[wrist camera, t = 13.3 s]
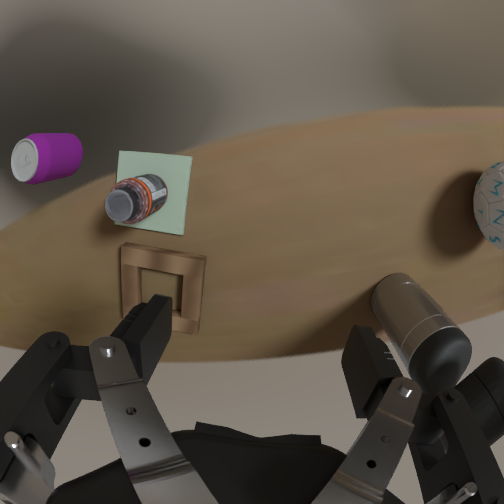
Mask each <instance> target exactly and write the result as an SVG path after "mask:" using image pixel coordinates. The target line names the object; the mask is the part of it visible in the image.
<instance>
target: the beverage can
mask: <svg viewBox="0 0 504 504" xmlns="http://www.w3.org/2000/svg"><path fill="white" fill-rule="evenodd" d="M82 155H83V151H82V145H81V142H80V140H79V139H78V138H77V137H76V136H75V135H73V134H70V133H44V134H43V133H41V134H31V135H30V136H28V137H26V138H24V139H23V140H21V141H19V142H18V143H17V144H16V146H15V148H14V150H13V153H12V157H11V167H12V171H13V174H14V176H15V177H16V179H17V180H19V181H22V182H25V183H28V184H38V183H42V182H46V181H50V180H54V179H59V178H64V177H67V176H70V175H72V174H73V173H74V172H76V171H77V169H78V168H79V166H80V164H81V161H82Z"/></svg>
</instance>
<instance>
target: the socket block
mask: <svg viewBox="0 0 504 504" xmlns="http://www.w3.org/2000/svg"><path fill="white" fill-rule="evenodd" d="M205 265H206V256H202V255H196V254H190V253H185V252H179V251H173V250H167V249H161V248H156V247H150V246H144V245H139V244H133V243H127V242H126V243H124V244H123V245H122V246H121V282H122V304H123V319H124V318H125V316H126V315H128V313H129V311H130V310H131V309H132V308H133V307H134V306H136V305H138V304H140V303H142V293H141V269H142V267H143V268H148V269H153V270H158V271H163V272H169V273H174V274H180V275H184V277H183V292H182V309H181V311H178V310H173V309H172V330H174V331H179V332H184V333H189V334H194V335H197V334H198V331H199V327H200V315H201V304H202V294H203V284H204V274H205Z"/></svg>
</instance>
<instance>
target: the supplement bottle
mask: <svg viewBox="0 0 504 504" xmlns="http://www.w3.org/2000/svg"><path fill="white" fill-rule="evenodd" d="M167 196H168V190H167V186H166V184H165V182H164V181H163V180H162V179H161V178H160V177H159V176H157V175H155V174H144V175H140V176H135V177H131V178H127V179H123V180H121V181H119V182H118V183H116V184H115V185H114V186H113V188H112V189H111V191H110V193H109V194H108V196H107V197H106V200H105V210H106V213H107V215H108V216H109V217H110V218H111V219H112V220H114V221H115V222H121V223H124V224H135V223H138V222H140V221H141V220H143V219H145V218H146V217H148V216H149V215H151V214H153V213H154V212H156V211H158V210H159V209H161V207H163V205H164V204H165V202H166V200H167Z"/></svg>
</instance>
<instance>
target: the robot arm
mask: <svg viewBox="0 0 504 504" xmlns="http://www.w3.org/2000/svg"><path fill="white" fill-rule="evenodd" d="M172 303H173V301H172V297H168V296H164V295H159V294H154V296H153V297H152V298H151V300H150V301H149V302H148V303H143V302H142V303H140V304H138V305H136V306H134V307H133V308H132V309H131V310H130V311H129V313H128V315H126V316H125V318H124V320H122V321H121V323H120V324H119V325H118V326H117V327H116V329H115V330H114V331H113V333H112V334H111V335H110V336H104V337H100V338H97V339H95V340H93V341H92V342H91V344H90V346H78V345H70V340H69V338H68V336H67V335H66V334H64V333H62V332H55V331H53V332H48V333H45V334H43V335H41V336H40V337H39V338H38V339H37V340H36V341H35V342H34V344H33V345H32V346H31V347H30V348H29V349H28V350H27V351H26V352H25V353H24V355H23V356H22V357H21V358H20V359H19V360H18V362H17V363H16V364H15V365H14V366H13V367H12V368H11V370H10V371H9V372H8V373H7V374H6V376H5V377H4V378H3V379H2V380H1V382H0V499H1V500H2V501H3V502H4V503H5V504H405V503H403V502H402V501H401V500H400V499H398V498H397V497H396V496H395V495H394V494H392V493H391V492H390V491H388V490H387V489H386V488H387V486H388V484H389V482H390V480H391V478H392V476H393V474H394V472H395V470H396V468H397V466H398V464H399V461H400V459H401V457H402V455H403V452H404V450H405V448H406V445H407V443H408V444H409V448H410V451H411V455H412V458H413V462H414V465H415V469H416V472H417V476H418V480H419V484H420V488H421V492H422V496H423V500H424V504H504V478H503V475H502V473H501V471H500V468H499V466H498V464H497V461H496V459H495V457H494V455H493V453H492V450H491V448H490V446H491V445H492V444H493V443H494V442H496V441H497V440H498V439H499V438H501V437H502V436H503V435H504V361H503V360H501V359H499V358H496V357H492V358H489V359H487V360H486V361H485V362H483V363H482V364H481V365H480V366H479V367H478V368H477V369H475V370H474V371H473V372H472V373H470V374H469V375H468V376H467V377H466V378H465V379H463V380H462V381H461V382H460V383H459V384H458V385H456V384H457V382H458V381H459V379H460V377H461V376H462V374H463V373H464V371H465V370H466V368H467V366H468V364H469V361H470V359H471V354H472V346H471V343H470V340H469V339H468V337H467V336H466V335H465V334H464V333H463V332H462V331H461V330H460V329H459V327H458V326H457V325H456V324H455V323H454V322H453V321H452V320H451V319H450V318H449V317H448V315H447V314H446V313H445V312H444V311H443V308H442V307H441V306H440V305H439V304H438V303H437V302H436V301H435V300H434V299H433V298H432V297H431V296H430V295H429V294H428V293H427V292H426V291H425V290H424V289H423V288H422V287H421V286H420V285H419V284H417V283H416V282H415V281H414V280H413V279H412V278H410V277H409V276H408V275H406V274H401V273H397V274H392V275H390V276H388V277H386V278H384V279H383V280H382V281H381V282H380V283H379V284H378V285H377V286H376V288H375V289H374V291H373V293H372V297H371V308H372V310H373V312H374V314H375V316H376V317H377V319H378V321H379V322H380V324H381V326H382V327H383V329H384V331H385V333H386V334H387V336H388V338H389V339H390V341H391V343H392V345H393V346H394V348H395V350H396V352H397V353H398V355H399V357H400V359H401V360H402V362H403V364H404V366H405V367H406V369H407V371H408V373H409V375H410V377H411V378H412V380H411V379H409V378H405V377H403V375H402V373H401V371H400V369H399V367H398V365H397V363H396V362H395V360H394V358H393V356H392V354H390V350H389V348H388V346H387V345H386V344H385V343H384V342H383V341H382V340H381V339H380V338H376V336H375V334H374V332H373V330H372V328H371V327H368V326H358V325H355V326H353V328H352V330H351V333H350V335H349V338H348V341H347V343H346V346H345V349H344V351H343V354H342V360H341V363H342V368H343V372H344V375H345V378H346V382H347V385H348V389H349V392H350V396H351V399H352V403H353V407H354V410H355V414H356V418H367V420H368V422H367V423H366V425H365V427H364V428H363V430H362V431H361V433H360V434H359V436H358V437H357V439H356V440H355V442H354V443H353V445H352V447H351V448H350V449H349V451H348V452H347V454H344V453H343V452H341V451H339V450H337V449H335V448H333V447H330V446H327V445H324V444H321V438H320V436H319V435H296V434H289V435H281V436H274V437H264V438H259V437H255V436H252V435H248V434H246V433H242V432H240V431H236V430H234V429H231V428H228V427H223V426H217V425H212V424H206V423H201V422H196V426H195V429H194V430H181V431H176V432H173V433H170V431H169V430H168V428H167V427H166V424H165V423H164V420H163V418H162V416H161V414H160V413H159V411H158V409H157V407H156V405H155V403H154V400H153V399H152V396H151V394H150V392H149V390H148V388H147V384H148V382H149V380H150V378H151V376H152V374H153V372H154V370H155V368H156V366H157V364H158V362H159V360H160V358H161V356H162V354H163V352H164V350H165V348H166V346H167V344H168V342H169V339H170V336H171V332H172ZM82 399H85V400H96V401H102V404H103V408H104V411H105V414H106V417H107V421H108V423H109V426H110V429H111V432H112V435H113V438H114V441H115V443H116V446H117V449H118V451H119V454H120V457H121V458H119V459H118V460H115V461H114V462H111V463H109V464H107V465H105V466H103V467H101V468H99V469H97V470H94V471H92V472H90V473H87V474H85V475H83V476H81V477H78V478H76V479H74V480H71V481H69V482H66V483H64V484H62V485H60V486H59V487H57V488H56V489H54V479H55V468H54V466H53V464H52V462H51V461H50V459H51V457H52V455H53V453H54V451H55V449H56V447H57V445H58V443H59V441H60V439H61V437H62V435H63V433H64V431H65V429H66V428H67V426H68V424H69V422H70V420H71V418H72V416H73V415H74V413H75V411H76V409H77V407H78V406H79V404H80V402H81V400H82ZM444 450H445V451H444ZM445 452H446V453H445Z"/></svg>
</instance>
